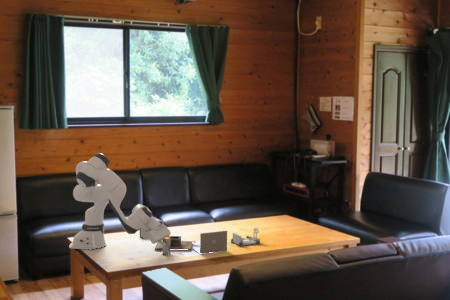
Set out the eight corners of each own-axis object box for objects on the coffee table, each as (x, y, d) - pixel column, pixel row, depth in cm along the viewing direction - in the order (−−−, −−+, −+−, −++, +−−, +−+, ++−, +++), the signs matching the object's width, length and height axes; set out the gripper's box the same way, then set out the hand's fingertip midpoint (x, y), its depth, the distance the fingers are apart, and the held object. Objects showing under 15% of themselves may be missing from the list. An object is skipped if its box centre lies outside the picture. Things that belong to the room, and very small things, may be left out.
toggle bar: (162, 254, 364) (162, 238, 363) (165, 253, 367) (165, 237, 366) (167, 255, 363) (167, 238, 362) (170, 253, 366) (170, 237, 365)
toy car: (255, 226, 401) (264, 229, 391) (255, 240, 402) (263, 244, 392) (230, 228, 394) (238, 232, 383) (230, 243, 394) (238, 247, 384)
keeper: (154, 250, 373) (154, 240, 372) (158, 243, 391) (158, 234, 390) (190, 251, 373) (190, 241, 372) (192, 243, 391) (192, 234, 390)
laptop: (218, 246, 384) (218, 226, 383) (227, 251, 373) (227, 230, 372) (192, 249, 376) (192, 229, 375) (200, 254, 365) (200, 233, 364)
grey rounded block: (142, 238, 402) (140, 223, 404) (139, 239, 406) (137, 224, 408) (165, 235, 411) (162, 221, 413) (161, 236, 415) (159, 222, 417)
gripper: (148, 227, 356) (163, 245, 353) (163, 220, 375) (177, 237, 372) (141, 234, 358) (156, 252, 355) (157, 227, 377) (171, 244, 374)
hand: (167, 244), depth 364 cm, fingers open, 4 cm apart
